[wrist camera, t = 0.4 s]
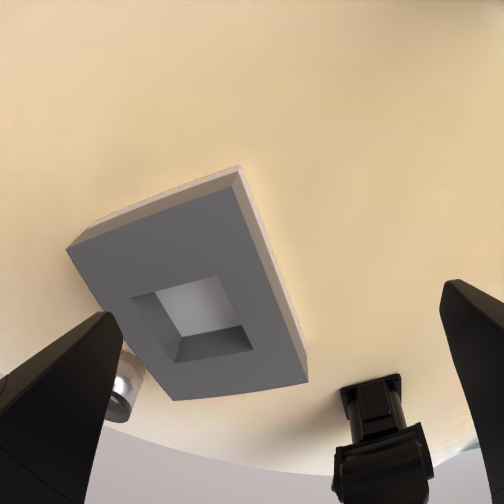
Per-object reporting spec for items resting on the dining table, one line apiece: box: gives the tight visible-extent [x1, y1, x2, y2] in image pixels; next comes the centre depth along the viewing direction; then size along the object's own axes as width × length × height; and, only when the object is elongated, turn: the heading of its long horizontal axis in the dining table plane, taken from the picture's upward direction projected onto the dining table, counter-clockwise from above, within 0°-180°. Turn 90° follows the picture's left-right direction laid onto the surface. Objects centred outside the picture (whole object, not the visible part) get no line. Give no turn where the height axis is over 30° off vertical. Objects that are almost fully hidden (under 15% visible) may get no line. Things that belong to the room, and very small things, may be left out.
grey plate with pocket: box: [65, 165, 308, 401], centre depth 23 cm, size 16×12×4 cm
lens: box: [104, 349, 146, 423], centre depth 28 cm, size 5×5×6 cm
